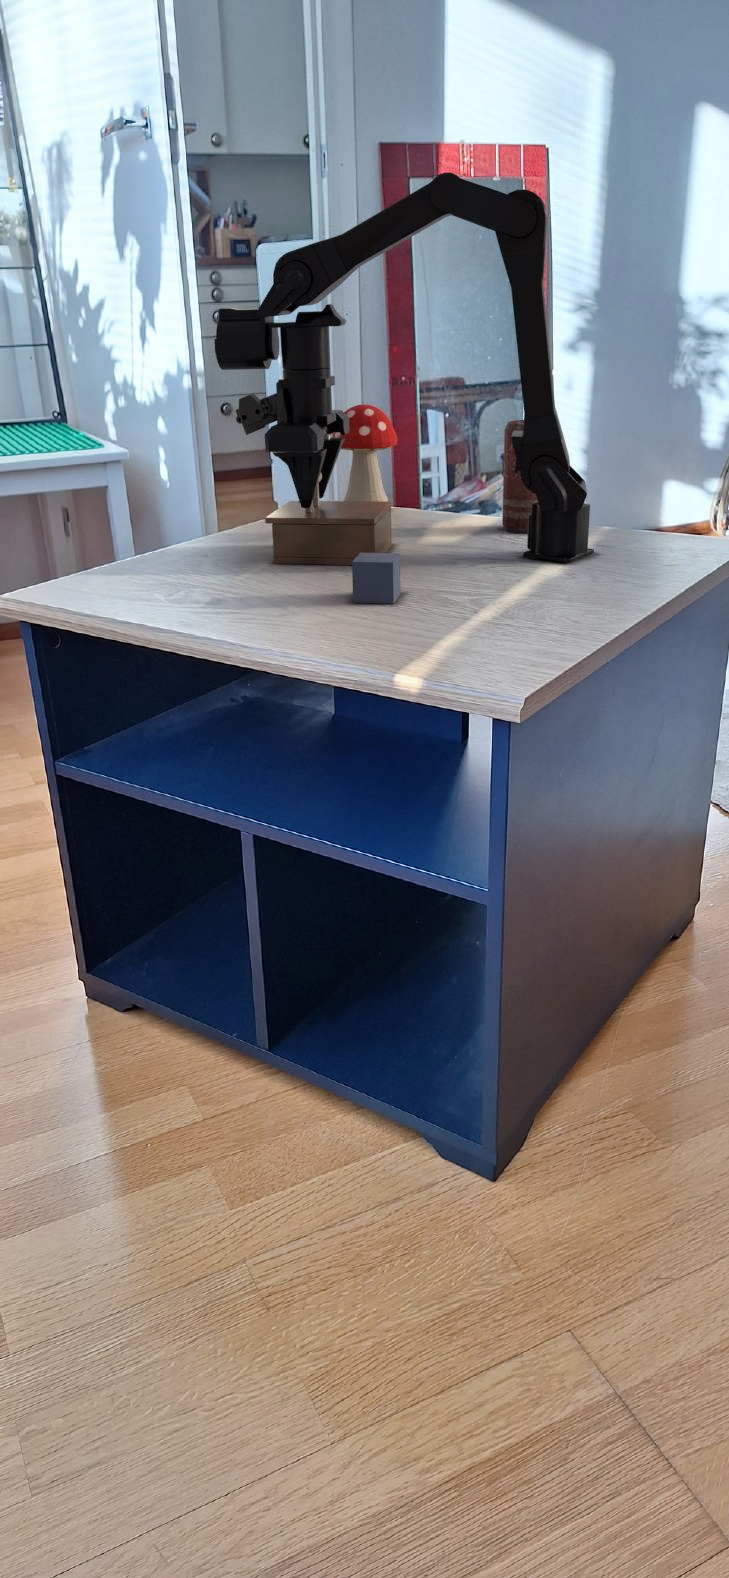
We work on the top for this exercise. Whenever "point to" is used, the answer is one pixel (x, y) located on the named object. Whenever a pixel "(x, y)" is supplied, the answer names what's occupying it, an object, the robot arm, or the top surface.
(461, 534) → the top surface
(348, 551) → the chest
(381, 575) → the block
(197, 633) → the top surface
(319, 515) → the lid
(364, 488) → the decorative mushroom
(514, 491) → the can
